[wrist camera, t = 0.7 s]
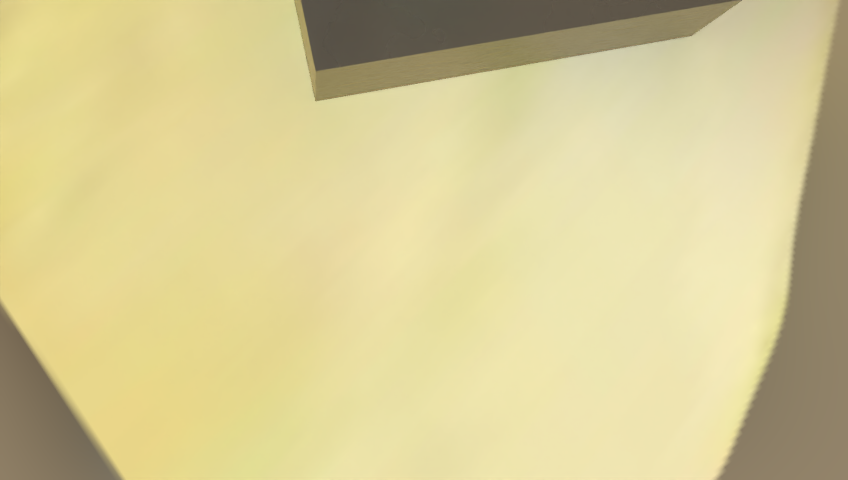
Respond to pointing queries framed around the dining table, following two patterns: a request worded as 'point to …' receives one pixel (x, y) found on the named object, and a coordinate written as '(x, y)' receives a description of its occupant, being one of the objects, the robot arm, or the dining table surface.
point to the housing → (474, 35)
